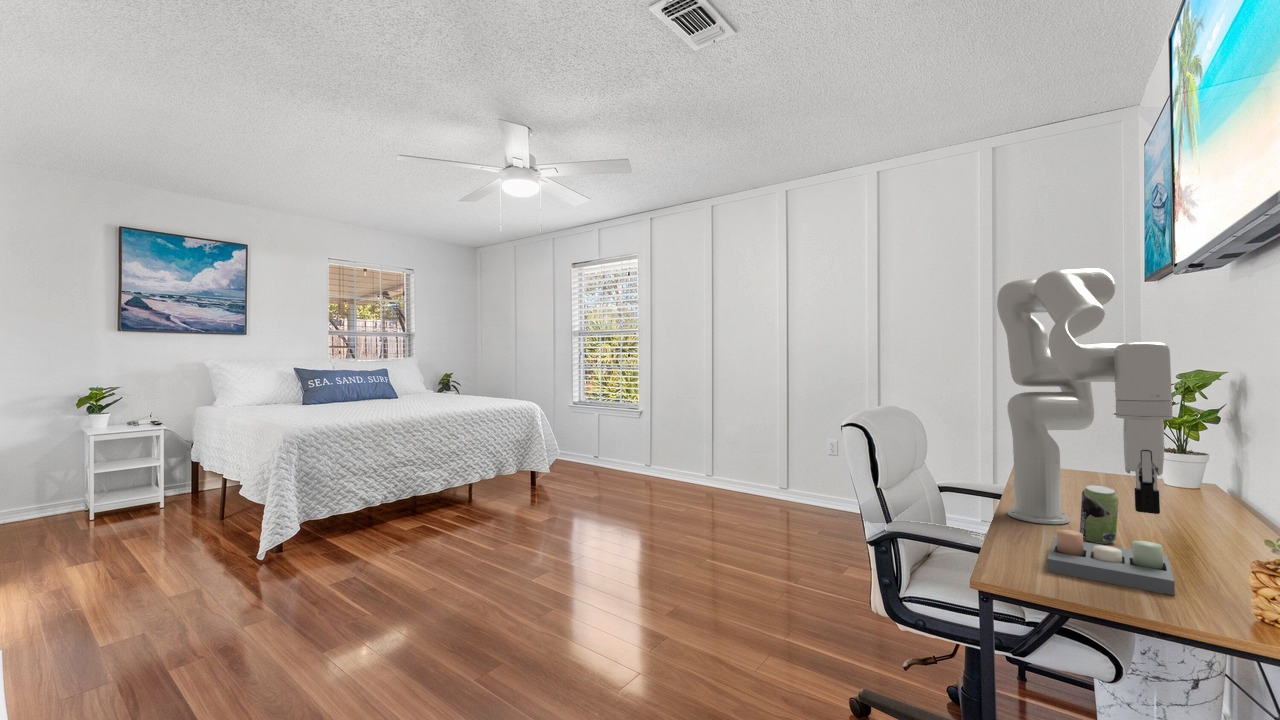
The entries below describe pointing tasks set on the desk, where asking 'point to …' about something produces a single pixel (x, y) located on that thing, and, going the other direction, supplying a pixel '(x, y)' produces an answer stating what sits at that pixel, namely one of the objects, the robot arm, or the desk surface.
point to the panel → (1112, 569)
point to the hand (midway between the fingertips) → (1147, 511)
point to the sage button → (1147, 554)
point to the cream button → (1107, 554)
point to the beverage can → (1099, 514)
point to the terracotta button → (1070, 542)
